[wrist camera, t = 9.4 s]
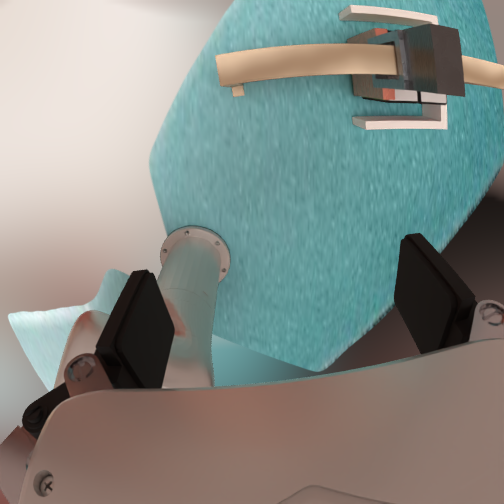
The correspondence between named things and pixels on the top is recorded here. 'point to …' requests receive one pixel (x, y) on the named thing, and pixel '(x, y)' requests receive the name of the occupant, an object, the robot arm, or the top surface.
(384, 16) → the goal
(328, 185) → the top surface
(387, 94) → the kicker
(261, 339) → the top surface
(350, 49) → the rail gantry
